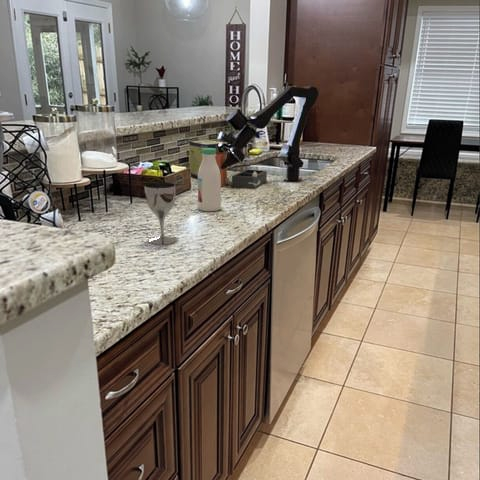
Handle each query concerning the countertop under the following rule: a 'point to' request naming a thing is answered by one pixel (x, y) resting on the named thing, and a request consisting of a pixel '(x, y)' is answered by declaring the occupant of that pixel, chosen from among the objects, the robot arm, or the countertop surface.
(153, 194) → the wine glass
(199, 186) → the milk bottle
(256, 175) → the pacifier
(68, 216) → the countertop surface
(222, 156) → the tumbler
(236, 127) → the robot arm
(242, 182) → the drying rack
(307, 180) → the countertop surface
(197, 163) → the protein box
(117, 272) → the countertop surface
